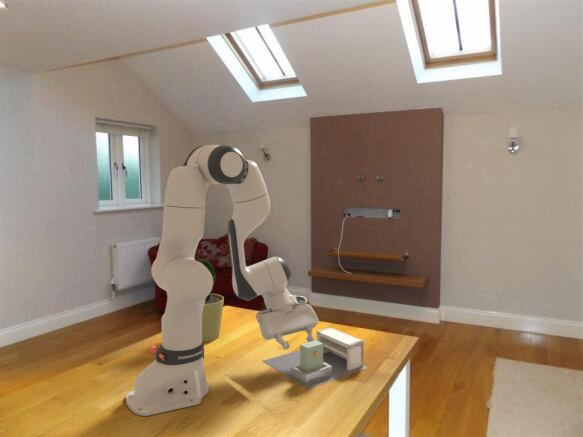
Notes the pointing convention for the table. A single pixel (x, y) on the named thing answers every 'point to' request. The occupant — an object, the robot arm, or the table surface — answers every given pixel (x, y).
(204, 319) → the potted cactus
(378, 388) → the table surface
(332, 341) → the gray base with shelf
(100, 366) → the table surface
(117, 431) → the table surface
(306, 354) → the tall mint green pillar
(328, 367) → the hollow rectangular frame
